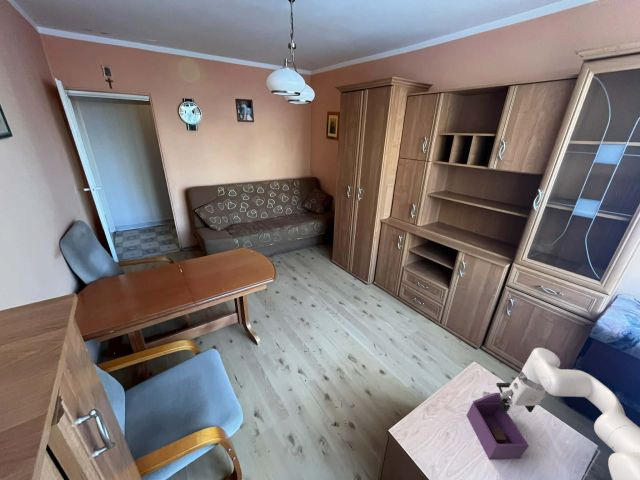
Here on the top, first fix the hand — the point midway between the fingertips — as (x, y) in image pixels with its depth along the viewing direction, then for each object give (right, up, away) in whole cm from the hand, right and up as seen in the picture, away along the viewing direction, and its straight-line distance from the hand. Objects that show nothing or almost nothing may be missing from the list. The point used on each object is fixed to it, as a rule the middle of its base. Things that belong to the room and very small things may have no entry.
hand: (515, 408), depth 101 cm
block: (+3, -25, +17) cm, 30 cm away
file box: (+3, -25, +19) cm, 31 cm away
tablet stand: (+14, -18, +33) cm, 40 cm away
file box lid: (+4, -6, +15) cm, 17 cm away
